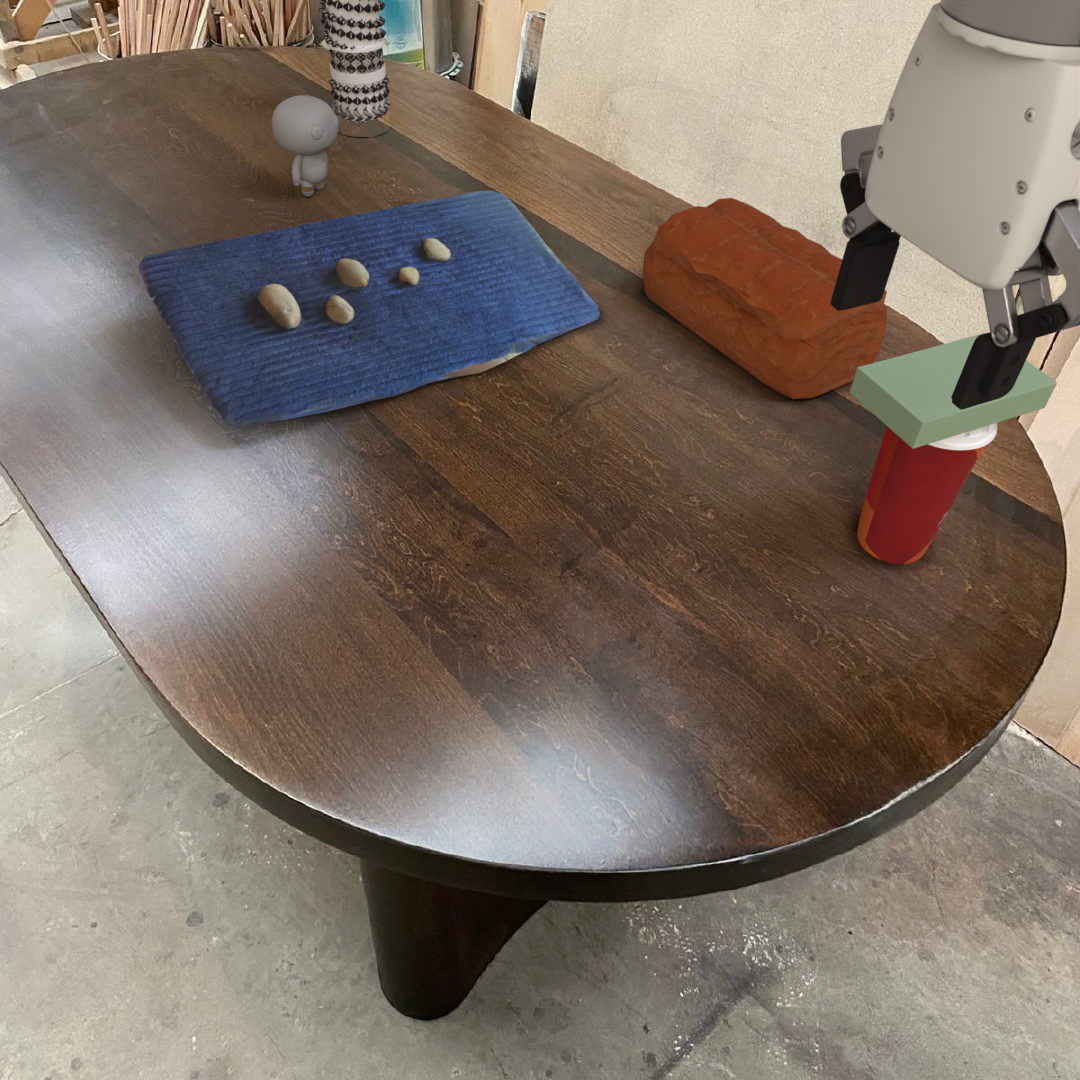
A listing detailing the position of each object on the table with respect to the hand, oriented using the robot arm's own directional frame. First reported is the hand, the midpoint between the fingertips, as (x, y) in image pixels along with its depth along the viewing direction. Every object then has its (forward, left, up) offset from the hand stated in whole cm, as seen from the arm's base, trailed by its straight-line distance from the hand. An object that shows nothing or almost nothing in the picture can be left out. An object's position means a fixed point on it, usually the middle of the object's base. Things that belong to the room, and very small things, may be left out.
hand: (912, 349), depth 51 cm
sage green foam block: (-18, -10, -15) cm, 26 cm away
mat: (+12, -60, -31) cm, 68 cm away
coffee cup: (-18, -10, -31) cm, 37 cm away
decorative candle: (-2, -112, -31) cm, 116 cm away
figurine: (+11, -93, -31) cm, 99 cm away
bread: (-26, -43, -31) cm, 59 cm away
